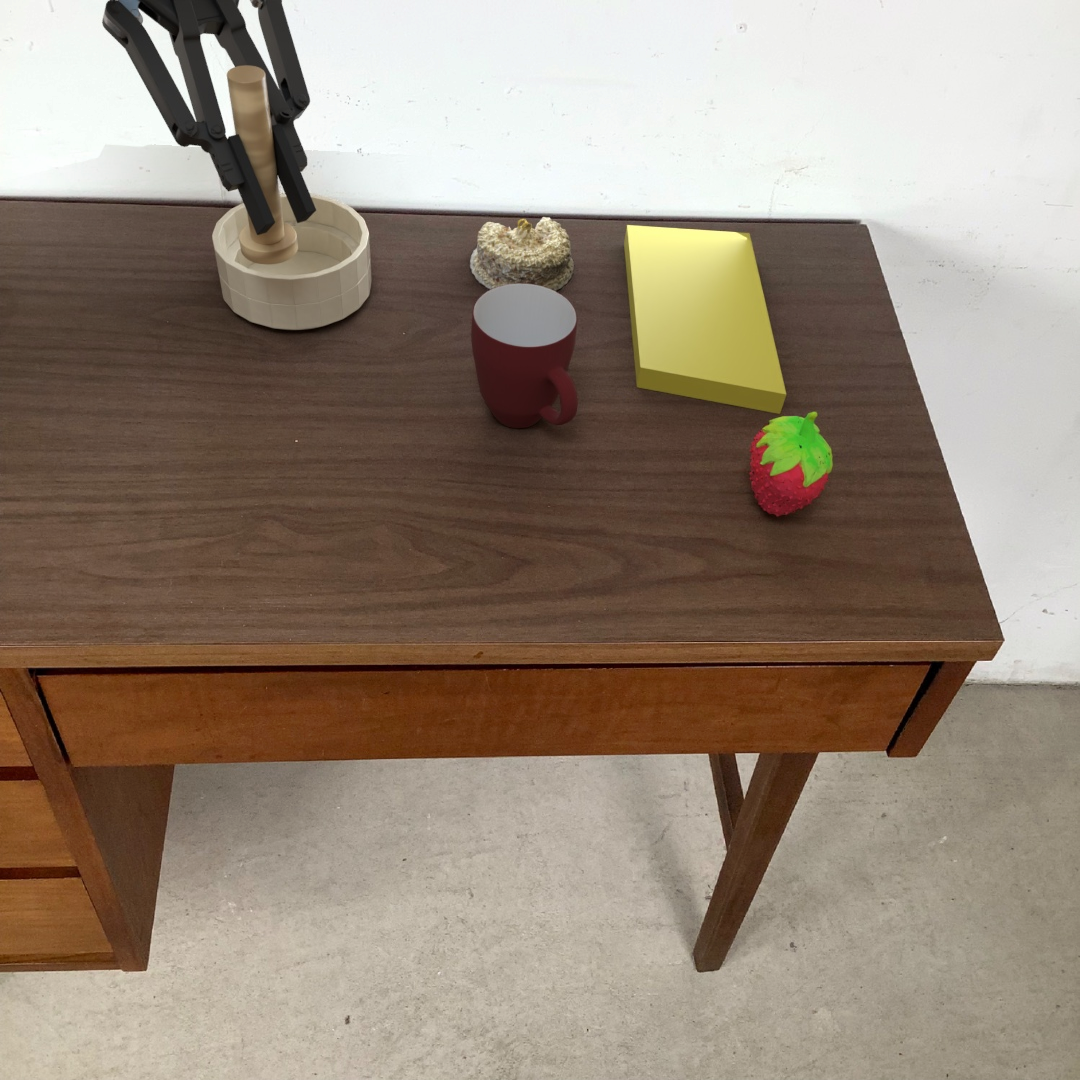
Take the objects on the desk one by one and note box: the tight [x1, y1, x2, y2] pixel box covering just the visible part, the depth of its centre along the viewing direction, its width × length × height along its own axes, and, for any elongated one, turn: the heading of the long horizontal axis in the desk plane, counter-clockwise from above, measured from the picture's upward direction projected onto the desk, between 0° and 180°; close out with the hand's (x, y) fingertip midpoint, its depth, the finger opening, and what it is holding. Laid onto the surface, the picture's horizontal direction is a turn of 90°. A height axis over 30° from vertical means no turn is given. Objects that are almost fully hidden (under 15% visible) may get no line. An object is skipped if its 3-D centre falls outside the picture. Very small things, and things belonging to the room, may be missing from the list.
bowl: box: [211, 192, 373, 331], centre depth 95 cm, size 13×13×6 cm
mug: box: [470, 283, 579, 429], centre depth 84 cm, size 11×8×10 cm
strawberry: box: [749, 411, 834, 517], centre depth 80 cm, size 6×7×10 cm
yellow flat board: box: [623, 224, 787, 415], centre depth 97 cm, size 12×2×24 cm
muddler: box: [226, 65, 298, 264], centre depth 79 cm, size 4×4×14 cm
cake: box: [469, 216, 575, 292], centre depth 100 cm, size 10×10×5 cm
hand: (286, 222), depth 79 cm, fingers closed on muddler, 3 cm apart
